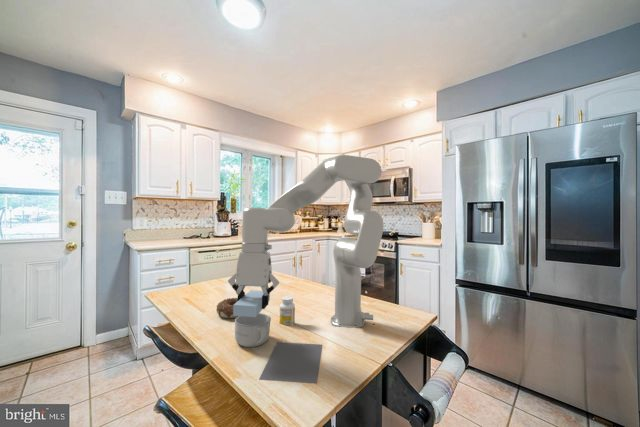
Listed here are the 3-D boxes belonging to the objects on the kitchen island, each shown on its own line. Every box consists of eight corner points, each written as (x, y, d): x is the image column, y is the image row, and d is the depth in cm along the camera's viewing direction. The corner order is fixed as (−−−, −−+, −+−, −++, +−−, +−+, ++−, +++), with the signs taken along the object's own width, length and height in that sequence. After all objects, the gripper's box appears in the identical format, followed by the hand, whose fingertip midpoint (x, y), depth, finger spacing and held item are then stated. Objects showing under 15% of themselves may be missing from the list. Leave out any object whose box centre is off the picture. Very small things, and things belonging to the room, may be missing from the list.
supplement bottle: (287, 320, 100) (287, 294, 100) (297, 324, 97) (297, 297, 97) (276, 324, 96) (276, 298, 96) (286, 329, 93) (287, 301, 92)
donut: (208, 316, 103) (208, 303, 103) (233, 305, 115) (233, 293, 115) (236, 323, 97) (236, 310, 97) (260, 311, 109) (260, 299, 109)
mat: (322, 347, 80) (322, 344, 80) (316, 387, 62) (316, 383, 62) (277, 345, 81) (277, 342, 81) (258, 383, 63) (258, 379, 63)
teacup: (232, 339, 85) (232, 314, 85) (266, 332, 90) (266, 309, 89) (238, 361, 72) (239, 332, 72) (277, 353, 77) (277, 326, 77)
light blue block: (269, 300, 87) (269, 291, 87) (255, 317, 73) (256, 306, 73) (250, 299, 88) (250, 290, 88) (233, 315, 74) (233, 304, 74)
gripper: (285, 247, 84) (283, 304, 84) (232, 245, 85) (230, 301, 85) (279, 251, 76) (277, 313, 76) (221, 248, 78) (219, 309, 78)
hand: (252, 306), depth 81 cm, fingers closed on light blue block, 6 cm apart
